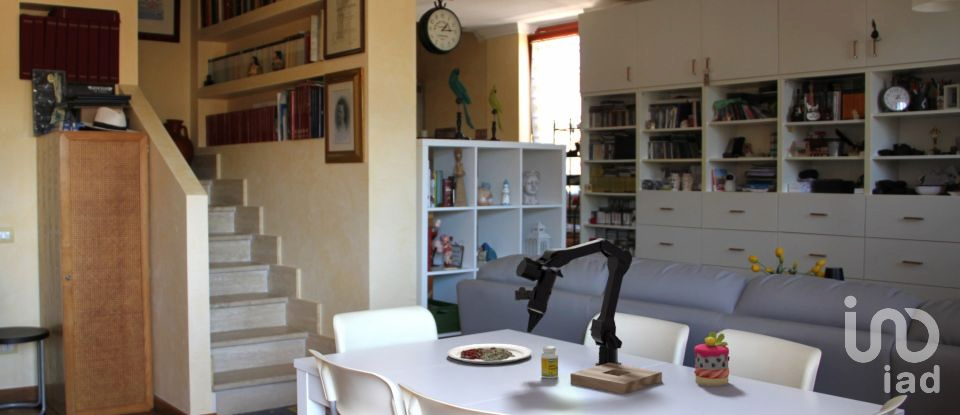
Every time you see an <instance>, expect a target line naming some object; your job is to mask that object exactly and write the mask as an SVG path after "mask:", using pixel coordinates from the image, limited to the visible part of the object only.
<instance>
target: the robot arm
mask: <svg viewBox="0 0 960 415" xmlns="http://www.w3.org/2000/svg"><path fill="white" fill-rule="evenodd" d="M598 253H600V254H601V255H602V256H603V257H605V258H607V260H606V261H607V263H606V267H607V270H608V271H607V272H608V276H607V282H606V285H605V291H604V296H603V299H602V304H601V308H600V313H599V315H598V317H597V318H593V319H592V320H591V326H590V329H589V331H590V337H591V338H592V340H593V341H594V343H595V345H596V346H599V347H598V362H595V363H594V364H595V365H596V366H599V365H602V364H606V363H614V364H619V365H623V363H622V362H619V361H618V360H619V359H618V358H619V353H618V351H619V350H620V349H621V348H622V346H623V342H622V340H621V339H620V338H619V337H618V336H617V335H616V334H617V325H616V320H615V316H616V311H617V307H618V302H619V297H620V293H621V289H622V284H623V280H624V277H625V275H626V274H627V272H629V270H630V267H631V265H632V262H633V254H632V253H631V252H630V251H629V250H627V249H623V248H621V247H619V246H618V245H617V244H614V243H612V242H611V241H610V240H608V239H607V238H600V237H598V238H596V239H595V240H590V241H587V242H583V243H580V244H577V245H573V246H570V247H564V248H563V247H562V248H561V247H560V248H557V247H556V248H548V249H546V250H544V252H543V254H542V255H541V256H540V257H539V258H537V259H535V260H534V259H532V258H530V257H528V256H524V257H523V258H522V260H521V261H520V262H519V264H518V265H517V267H516V271H515V274H516V277H519V278H520V279H524V280H526V281H528V282H536V283H535V285H534V286H533V288H532V289H527V288H526V287H525V286H520V287H518V290H514V301H518V302H519V301H528V302H527V305H526V311H527V313H528V321H527V323H528V324H527V329H526V332H527V333H532V332H533V331H534V329H535V328H536V326H537V325H538V324H539V323H540V321H541V320H542V319H543V318H544V317H545V314H546V312H547V309H548V306H549V305H548V304H549V301H550V298H551V296H552V292H553V290H554V287H555V284H556V281H557V278H562V279H563V278H564V274H563V273H562V271H561V269H560V268H562V267H564V266H566V265H568V264H569V263H570V262H572V261H574V260H577V259H579V258H582V257H586V256H590V255H594V254H598ZM545 268H546V269H545ZM553 268H556V269H553ZM618 349H619V350H618Z"/></svg>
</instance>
